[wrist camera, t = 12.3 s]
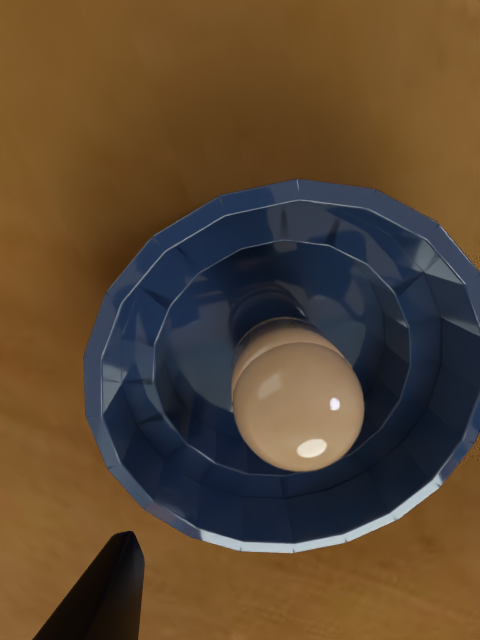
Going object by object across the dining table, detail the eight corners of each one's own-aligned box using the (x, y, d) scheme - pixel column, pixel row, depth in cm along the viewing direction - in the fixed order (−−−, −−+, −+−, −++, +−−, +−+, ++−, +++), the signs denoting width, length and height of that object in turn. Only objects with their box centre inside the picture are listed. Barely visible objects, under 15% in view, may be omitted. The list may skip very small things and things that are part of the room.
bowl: (421, 436, 18) (490, 515, 14) (170, 486, 19) (152, 581, 14) (413, 158, 14) (511, 132, 9) (81, 229, 14) (11, 239, 9)
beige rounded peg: (327, 379, 16) (394, 489, 10) (239, 397, 17) (250, 518, 10) (315, 294, 15) (385, 358, 9) (220, 314, 15) (218, 393, 9)
